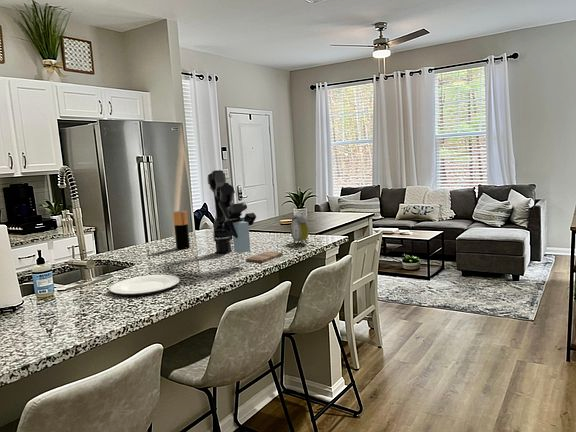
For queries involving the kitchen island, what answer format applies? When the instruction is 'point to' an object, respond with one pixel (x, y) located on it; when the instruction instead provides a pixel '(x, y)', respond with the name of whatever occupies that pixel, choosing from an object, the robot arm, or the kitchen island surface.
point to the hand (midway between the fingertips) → (242, 236)
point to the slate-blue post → (241, 237)
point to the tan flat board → (264, 257)
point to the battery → (181, 229)
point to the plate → (144, 284)
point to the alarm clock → (299, 228)
